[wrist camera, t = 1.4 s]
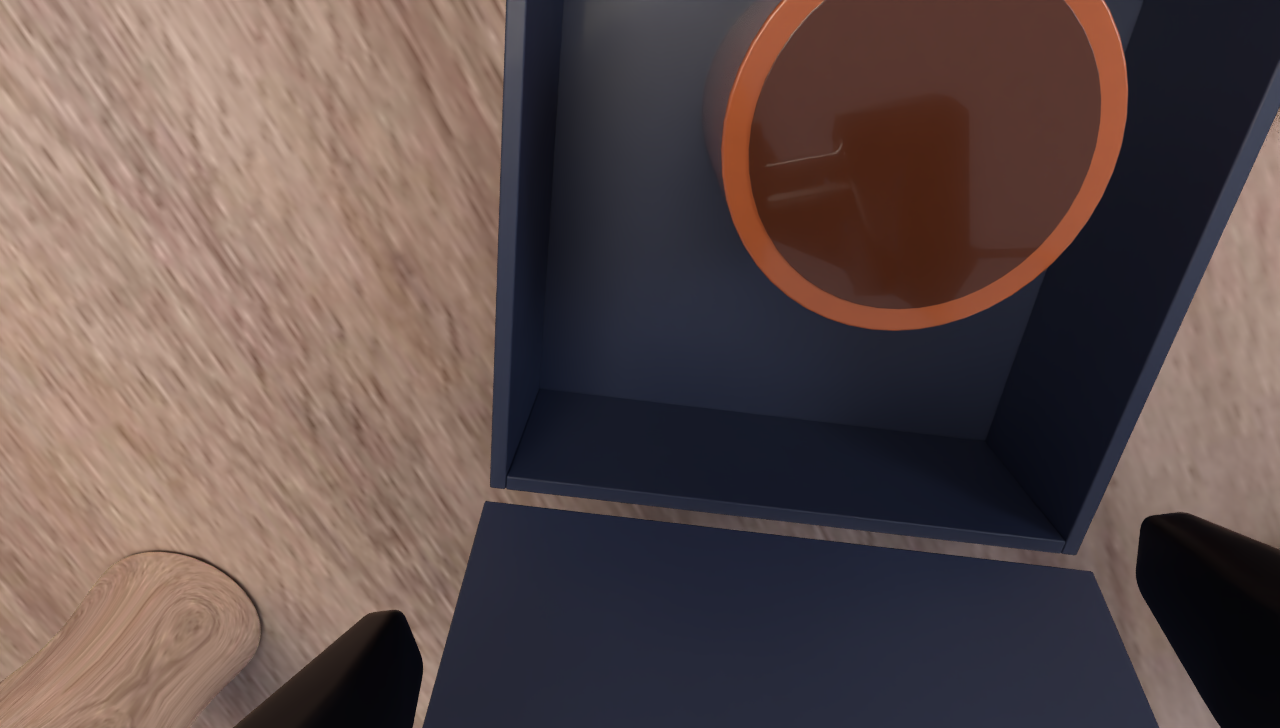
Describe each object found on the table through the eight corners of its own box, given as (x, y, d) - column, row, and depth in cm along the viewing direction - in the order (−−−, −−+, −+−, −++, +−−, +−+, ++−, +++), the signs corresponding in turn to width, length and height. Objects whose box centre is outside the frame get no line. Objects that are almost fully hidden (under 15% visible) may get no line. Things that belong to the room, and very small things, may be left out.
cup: (988, -15, 17) (1203, -56, 10) (916, 247, 20) (1048, 353, 13) (723, -49, 17) (760, -113, 10) (685, 219, 20) (694, 309, 13)
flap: (1093, 570, 17) (1084, 579, 17) (484, 500, 17) (485, 509, 17) (1276, 999, 12) (1259, 1001, 12) (373, 902, 11) (377, 907, 12)
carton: (988, 446, 23) (1076, 556, 18) (528, 392, 23) (489, 488, 18) (1202, -144, 16) (1431, -226, 11) (562, -228, 16) (517, -348, 11)
